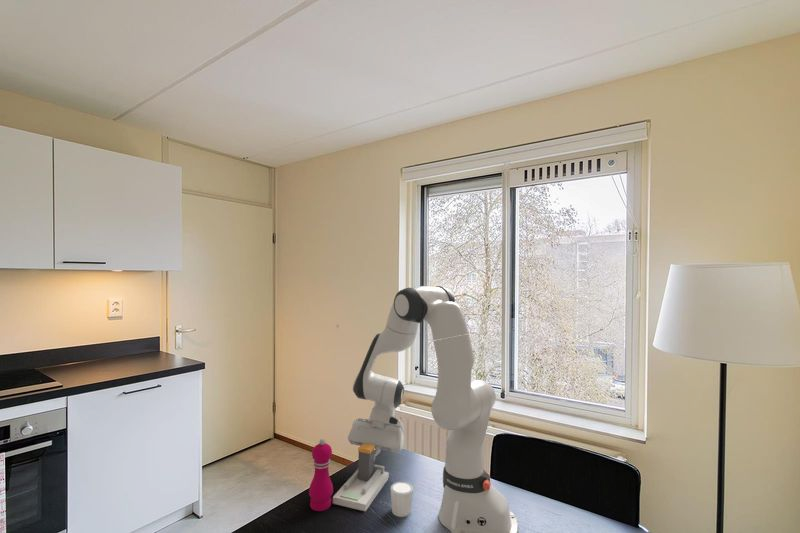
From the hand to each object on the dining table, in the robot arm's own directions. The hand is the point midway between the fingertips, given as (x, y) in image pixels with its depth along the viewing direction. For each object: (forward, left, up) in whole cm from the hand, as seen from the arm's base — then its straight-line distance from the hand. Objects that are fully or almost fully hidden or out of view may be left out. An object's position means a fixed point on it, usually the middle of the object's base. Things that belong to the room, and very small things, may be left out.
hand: (369, 460), depth 132 cm
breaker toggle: (0, +3, -4) cm, 5 cm away
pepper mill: (+8, +19, -7) cm, 21 cm away
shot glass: (-16, +13, -7) cm, 21 cm away
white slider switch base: (0, +6, -7) cm, 9 cm away
